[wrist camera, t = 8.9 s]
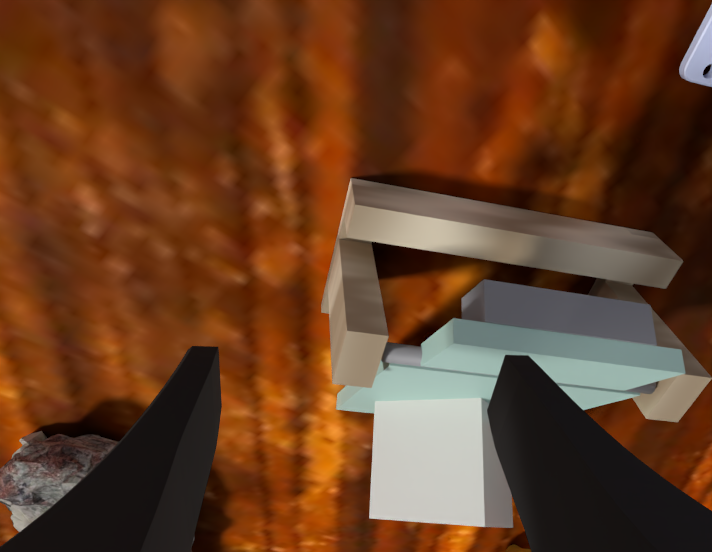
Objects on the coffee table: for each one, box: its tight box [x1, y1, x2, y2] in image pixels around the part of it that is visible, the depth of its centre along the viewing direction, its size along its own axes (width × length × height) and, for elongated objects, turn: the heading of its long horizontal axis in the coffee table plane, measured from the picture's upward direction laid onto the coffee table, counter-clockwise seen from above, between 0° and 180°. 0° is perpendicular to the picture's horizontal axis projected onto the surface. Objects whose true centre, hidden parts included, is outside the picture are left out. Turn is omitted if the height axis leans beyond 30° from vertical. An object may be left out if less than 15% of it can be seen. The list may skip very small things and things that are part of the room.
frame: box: [321, 178, 712, 422], centre depth 22 cm, size 14×6×7 cm, turn 77°
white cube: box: [369, 398, 513, 528], centre depth 25 cm, size 5×5×5 cm
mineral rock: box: [0, 431, 195, 552], centre depth 30 cm, size 15×8×4 cm, turn 0°
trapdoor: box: [336, 279, 686, 413], centre depth 23 cm, size 11×14×2 cm
